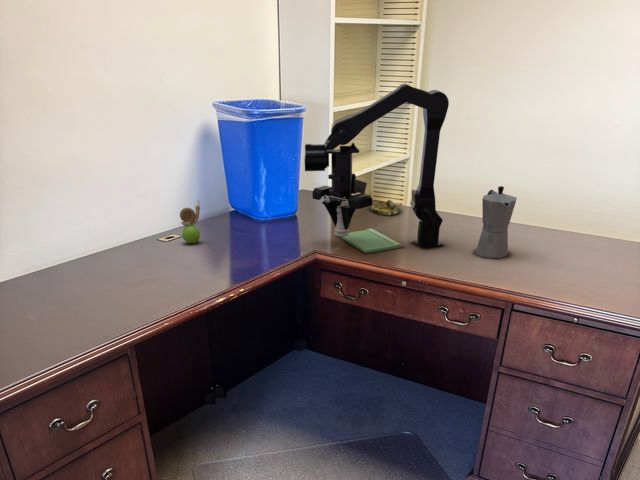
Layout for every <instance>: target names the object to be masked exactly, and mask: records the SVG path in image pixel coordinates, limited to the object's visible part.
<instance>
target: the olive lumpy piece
mask: <svg viewBox="0 0 640 480" xmlns="http://www.w3.org/2000/svg"><path fill="white" fill-rule="evenodd" d="M370 210H371V211H372V212H373V213H376V214H379V215H381V216H382V215H383V216H395V215H398V214H399V213H400V208H399V207H398V205H396V204H394V201H392V200H391V199H387V200H386V201H384V200H377V201H376V202H375V203H372V206H370Z"/></svg>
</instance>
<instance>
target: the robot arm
mask: <svg viewBox="0 0 640 480" xmlns="http://www.w3.org/2000/svg"><path fill="white" fill-rule="evenodd" d="M407 103H408V104H410V105H414V106H416V107H418V108H422V118H423V126H424V132H423V133H424V134H423V142H422V152H421V161H420V162H421V163H420V169H419V170H420V171H419V181H418V185H417V188H416V189H411V199H410V202H409V204H410V206H411V208H412V211H413V213H414V214H415V216H416V218H417V219H418V220H419V221H418V227H417V239H416V240H413V241H412V243H413V244H414V245H416V246H418V247H420V248H422V249H430V248H435V247H443V243H442V242H440V241H439V240H440V239H439V238H440V231H441V230H440V229H441V225H442V223H443V220H444V219H443V218H442V216H441V215H440V214H439V212H438V211H437V209H436V194H435V178H436V169H437V163H438V153H439V146H440V145H439V143H440V138H441V137H440V135H441V131H442V127H443V125H444V122H445V120H446V116H447V114H448V111H449V110H448V109H449V106H450V100H449V98H448V95H446V94H445V93H444V92H443V91H440V90H438V89H432V90H429V91H427V90H424V89H420V88H418V87H413V86H411V85H410V84H407V83H402V84H400V85H399V86H398V87H397V88H395V89H393V90H392V91H390V92H389V93H387V94H386V95H384V96H382V97H380V98H379V99H377V100H376V101H374V102H372V103H371V104H369V105H368V106H365V108H363V109H360V110H359V111H357V112H354V113H350V114H348V115H347V114H346V115H345V116H342V117H340V118H336V120H334V122H333V123H332V124H331V128H330V134H329V135H328V137H327V138H326V139H325V142H324V143H319V144H318V143H317V144H315V143H314V144H312V143H305V144H304V172H326V169H328V168H329V167H330V165H331V168H330V169H331V172H330V174H328V177H327V178H328V180H331V186H329V185H322V186H318V187H314V189H313V190H312V193H311V194H312V195H311V196H312V199H313V200H317V201H320V200H321V199H322V198H323V201H322V202H321V204H322V205H324V207H325V209H326V211H327V213H328V214H329V216H330V219H331V221H332V223H333V226H334V227H335V228H336V225H337V219H338V216H337V215H338V212H337V211H336V209H337V206H340V207H341V213H342V219H343V225H344V229H348V228H349V227H350V224H351V221H352V219H353V216H354V214H355V212H356V210H361V209H365V208H368V207H371V206H372V204H373V199H374V198H373V196H372V195H371V194H367V193H366V190H367V186H368V183H367V182H365V181H362V180H359V179H357V175H356V173H353V154H359V153H360V149H359V148H358V147H357V146H356V144H355V142H354V141H353V140H354V139H355V138H356V137H357V136H358V135H360V133H361V132H362V131H363V130H364V129H366V128H367V127H368V126H369V125H371V124H373V123H374V122H376V121H378V120H379V119H380V118H383V117H384V116H386V115H388V114H389V113H391V112H392V111H394V110H395V109H397V108H399V107H401V106H403V105H404V104H407ZM350 142H351V144H350ZM348 144H349V145H348ZM338 147H339V148H338ZM330 156H331V158H330ZM330 160H331V162H330ZM330 163H331V164H330ZM343 202H345V203H344V204H345V205H343V206H342V203H343Z"/></svg>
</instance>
